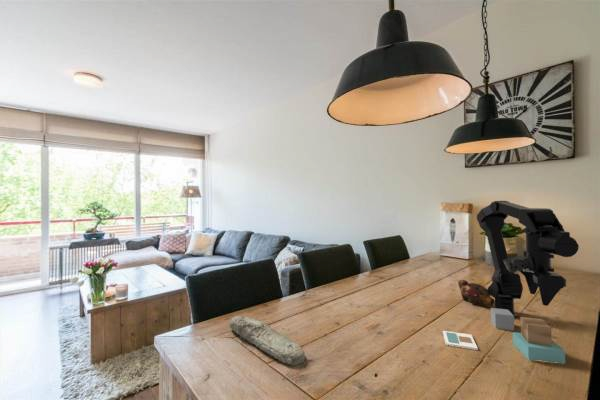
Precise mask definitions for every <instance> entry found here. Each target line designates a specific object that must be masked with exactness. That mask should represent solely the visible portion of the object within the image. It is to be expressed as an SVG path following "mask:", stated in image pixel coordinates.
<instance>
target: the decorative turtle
mask: <svg viewBox="0 0 600 400" xmlns="http://www.w3.org/2000/svg"><path fill="white" fill-rule="evenodd" d="M457 285H458V288H459V290H460V294H461V298H462V299H463V301H464V302H466V301H470V303H471V304H472V305H473V306H475V305H477V304H478V303H479V302H480V303H482V304H486V305H491V306H492V305H494V304H495V298H494V297H492V296H491V295H489V294H488V288H486V287H485V286H484V285H481V284H479V283H476V282H470V283H469V282H468V281H467V280H465V279H460V280H459V281H458V284H457Z"/></svg>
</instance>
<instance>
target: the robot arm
mask: <svg viewBox="0 0 600 400" xmlns="http://www.w3.org/2000/svg"><path fill="white" fill-rule="evenodd" d="M508 217H511V218H515V219H517V220H518V223H519V224H520V225H522V226H524V228H523V229H522V230H521V232H520V233H523V234H525V250H524V249H523V251H522V255H516V256H513V257H509V256H508V251H507V248H506V244H505V241H504V240H505V239H504V237H503V233H502V231H503V229H504V226H505V220H506V219H507V218H508ZM476 220H477V223H478V225H479V227H480V229H481V230H482V231H483V232H484V233H485V234H486V236H487V242H488V247H489V250H490V255H491V260H492V263H493V267H494V272H493V274H492V276H491V284H490V285H489V286H488V288H487V290H488V294H489V295H490V297H492V298H493V299H494V306H493V307H491V308H497V309H507V310H509V311H510V312H511V313H512V314H513V315H514V318H519V316H518V314H517V313H516V312H515V300H516V299H517V300H520V299H522V294H523V292H524V291H523V290H524V286H523V285H524V284H523V283H522V280H521V276H520V274H519V273H516V272H520V273H521V275H523V276H524V278H525V281H526V285H527V287H528V291H529V293H530V294H531V295H536V293H537V290H538V289H539V290H538V291H539V294H540V299H541V303H542V305H543V306H546V307H547V306H549V305H550V303H551V302H552V301H553V300H554V297H556V295H557V294H559V291H561V290H562V289H564V288H565V287H566V288H567V279H566V278H565V277H563V276H562V275H560V274H558V273H557V272H555V268H554V267H552V259H555V255H556V256H560V257H563V258H571V257H573V256H575V255H576V254H577V253H578V251H579V247H580V246H579V244H578V242H577V240H576V239H575V238H574V237H572V236H571V232H570V231H566V230H565V229H564V225H562V223H561V222H560V221H559V218H558V216H556V214H555V212H554V211H553V210H552V209H551V208H542V207H540V208H539V207H526V206H524V205H520V204H516V203H513V202H510V201H507V200H494V201H491V203H490V204H488V205H487V206H485V207H483V208H482V209H480V210H479V212H478V213H477V215H476Z"/></svg>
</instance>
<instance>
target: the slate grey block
mask: <svg viewBox="0 0 600 400" xmlns="http://www.w3.org/2000/svg"><path fill="white" fill-rule="evenodd" d="M490 322H491V324H492V323H493V324H492V325H493V327H494V326H495V327H494V328H495V329H496V328H498V330H504V329H506V330H505V331H511V330H514V331H515V323H514V322H515V317H514V315H513V314H512V313H511V312H510V311H509V310H507V309H497V308H492V307H490Z"/></svg>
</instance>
